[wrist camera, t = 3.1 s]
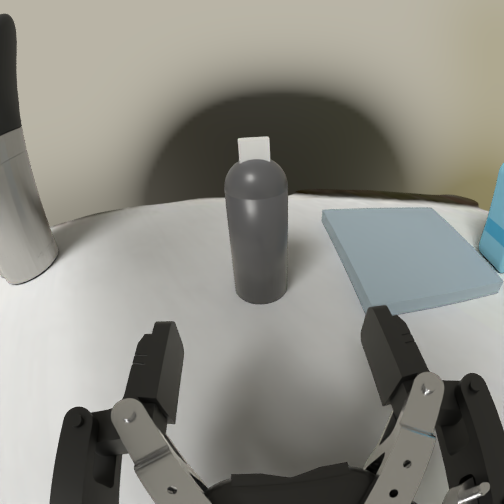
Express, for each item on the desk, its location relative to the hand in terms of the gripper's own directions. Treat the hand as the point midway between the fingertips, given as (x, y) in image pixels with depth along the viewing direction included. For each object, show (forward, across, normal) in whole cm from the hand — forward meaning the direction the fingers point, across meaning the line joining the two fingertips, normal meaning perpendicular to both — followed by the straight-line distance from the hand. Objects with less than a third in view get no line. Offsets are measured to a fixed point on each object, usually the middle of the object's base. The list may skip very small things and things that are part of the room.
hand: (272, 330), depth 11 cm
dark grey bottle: (+11, 0, +7) cm, 13 cm away
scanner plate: (+14, -16, +7) cm, 23 cm away
